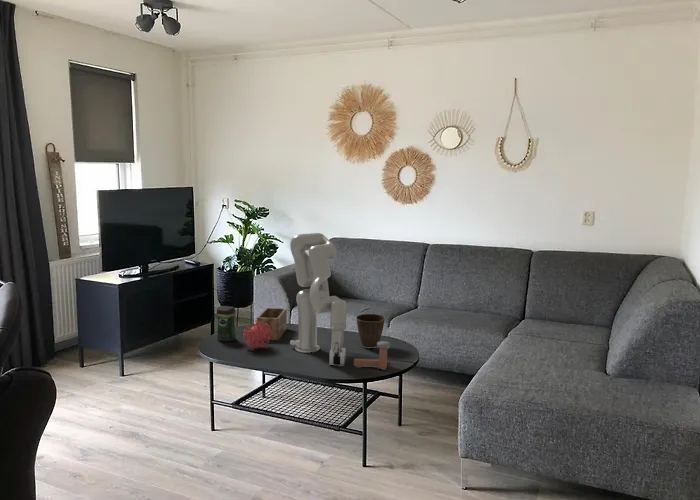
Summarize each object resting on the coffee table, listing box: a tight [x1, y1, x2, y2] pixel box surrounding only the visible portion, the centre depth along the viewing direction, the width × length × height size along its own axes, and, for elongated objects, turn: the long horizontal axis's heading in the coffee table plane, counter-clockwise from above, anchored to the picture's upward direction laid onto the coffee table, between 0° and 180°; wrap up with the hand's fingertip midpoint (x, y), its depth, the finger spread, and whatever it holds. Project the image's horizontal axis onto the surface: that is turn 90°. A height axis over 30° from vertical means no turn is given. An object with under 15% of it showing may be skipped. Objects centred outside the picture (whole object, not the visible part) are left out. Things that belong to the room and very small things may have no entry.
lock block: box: [328, 347, 347, 367], centre depth 273 cm, size 7×7×7 cm
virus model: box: [242, 319, 272, 350], centre depth 294 cm, size 15×15×15 cm
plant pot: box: [356, 313, 386, 347], centre depth 299 cm, size 15×15×16 cm
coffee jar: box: [216, 305, 237, 342], centre depth 307 cm, size 10×8×19 cm
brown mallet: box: [353, 340, 391, 369], centre depth 269 cm, size 17×7×12 cm, turn 85°
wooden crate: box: [256, 307, 288, 341], centre depth 319 cm, size 12×22×12 cm, turn 175°
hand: (337, 361), depth 273 cm, fingers closed on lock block, 6 cm apart
